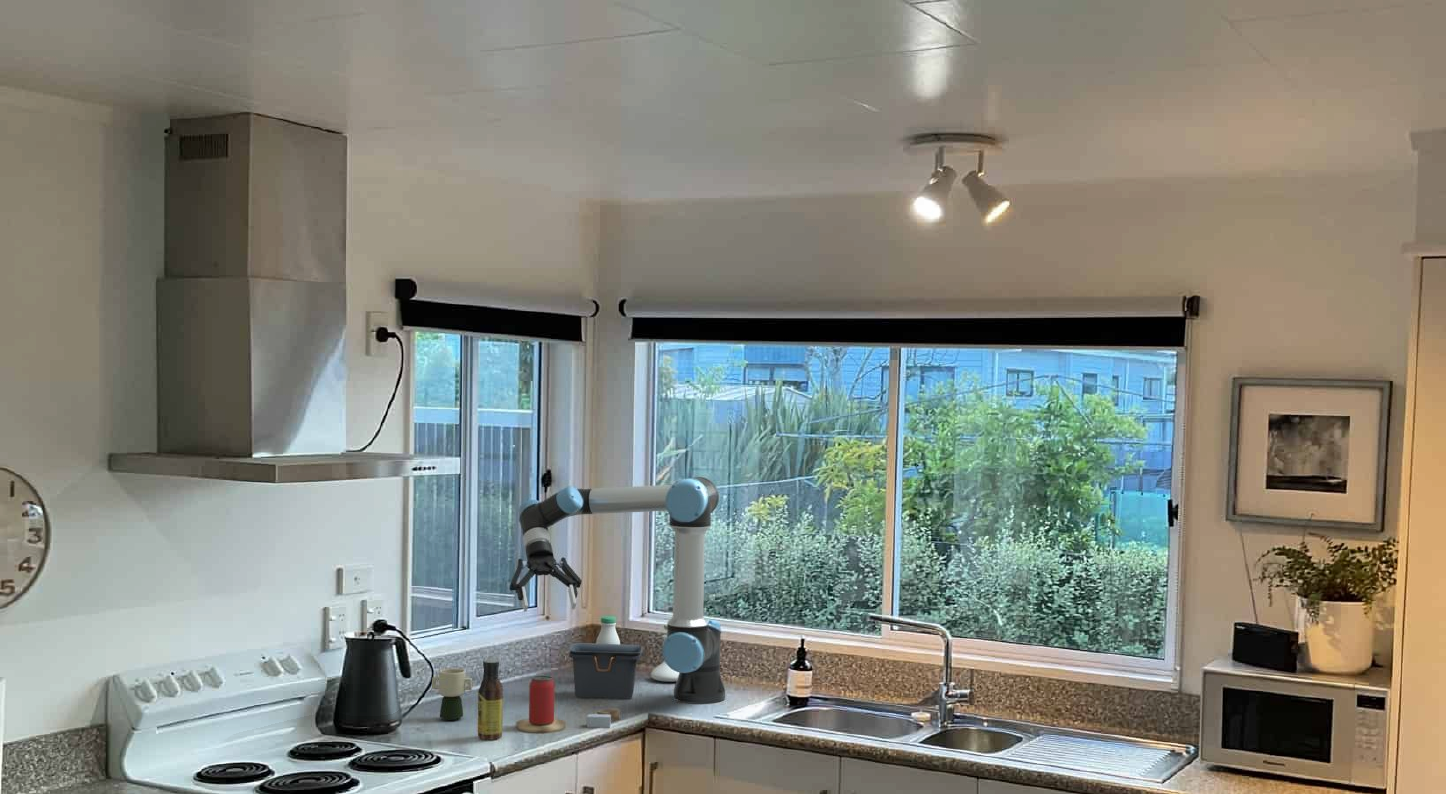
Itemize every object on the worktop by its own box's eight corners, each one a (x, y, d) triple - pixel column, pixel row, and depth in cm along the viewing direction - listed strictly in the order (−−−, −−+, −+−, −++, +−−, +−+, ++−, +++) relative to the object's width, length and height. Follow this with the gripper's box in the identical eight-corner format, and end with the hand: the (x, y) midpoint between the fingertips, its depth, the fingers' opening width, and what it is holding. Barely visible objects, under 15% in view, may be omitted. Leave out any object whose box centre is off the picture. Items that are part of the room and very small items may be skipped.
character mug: (474, 716, 372) (475, 668, 372) (468, 722, 365) (469, 673, 365) (434, 715, 373) (435, 667, 373) (427, 721, 366) (428, 672, 366)
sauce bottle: (480, 734, 353) (481, 657, 353) (504, 735, 353) (505, 657, 353) (474, 740, 346) (476, 662, 346) (499, 741, 346) (501, 662, 346)
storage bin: (642, 691, 408) (643, 643, 408) (640, 703, 393) (641, 653, 393) (570, 690, 408) (571, 642, 408) (565, 702, 392) (566, 651, 392)
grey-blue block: (610, 725, 366) (610, 714, 366) (609, 728, 363) (609, 716, 363) (588, 725, 366) (588, 713, 366) (587, 727, 363) (587, 716, 363)
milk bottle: (594, 679, 423) (595, 614, 423) (619, 679, 424) (620, 614, 424) (594, 685, 416) (596, 618, 416) (620, 684, 417) (621, 619, 417)
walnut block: (610, 718, 374) (611, 707, 374) (619, 720, 372) (619, 709, 372) (597, 722, 369) (597, 711, 369) (605, 724, 367) (606, 713, 367)
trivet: (559, 719, 370) (559, 716, 370) (570, 731, 358) (570, 727, 358) (511, 722, 366) (511, 719, 366) (521, 734, 354) (521, 730, 354)
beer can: (549, 726, 358) (550, 680, 358) (525, 724, 360) (526, 679, 360) (557, 720, 365) (558, 675, 365) (533, 719, 366) (534, 674, 366)
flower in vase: (657, 685, 417) (659, 602, 417) (645, 677, 428) (647, 597, 428) (697, 682, 422) (699, 601, 422) (685, 675, 433) (686, 596, 433)
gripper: (578, 554, 400) (591, 613, 386) (493, 557, 392) (503, 617, 378) (583, 537, 396) (596, 597, 381) (497, 540, 387) (507, 601, 373)
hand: (550, 607), depth 379 cm, fingers open, 13 cm apart
